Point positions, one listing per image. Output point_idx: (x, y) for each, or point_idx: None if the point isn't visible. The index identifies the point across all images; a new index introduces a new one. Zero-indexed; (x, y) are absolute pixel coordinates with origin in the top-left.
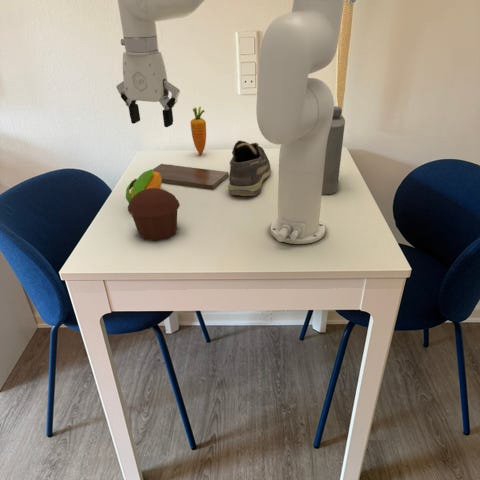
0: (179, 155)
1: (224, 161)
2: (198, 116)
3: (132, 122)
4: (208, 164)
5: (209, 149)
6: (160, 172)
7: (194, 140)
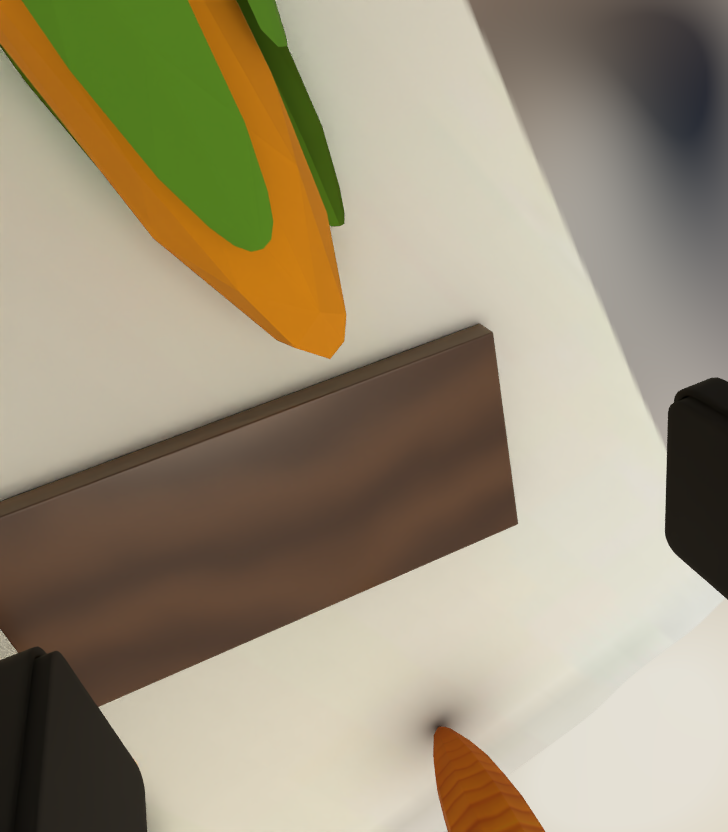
0: (530, 655)
1: (268, 771)
2: None
3: (701, 386)
4: (311, 699)
5: None
6: (430, 443)
7: (487, 778)
